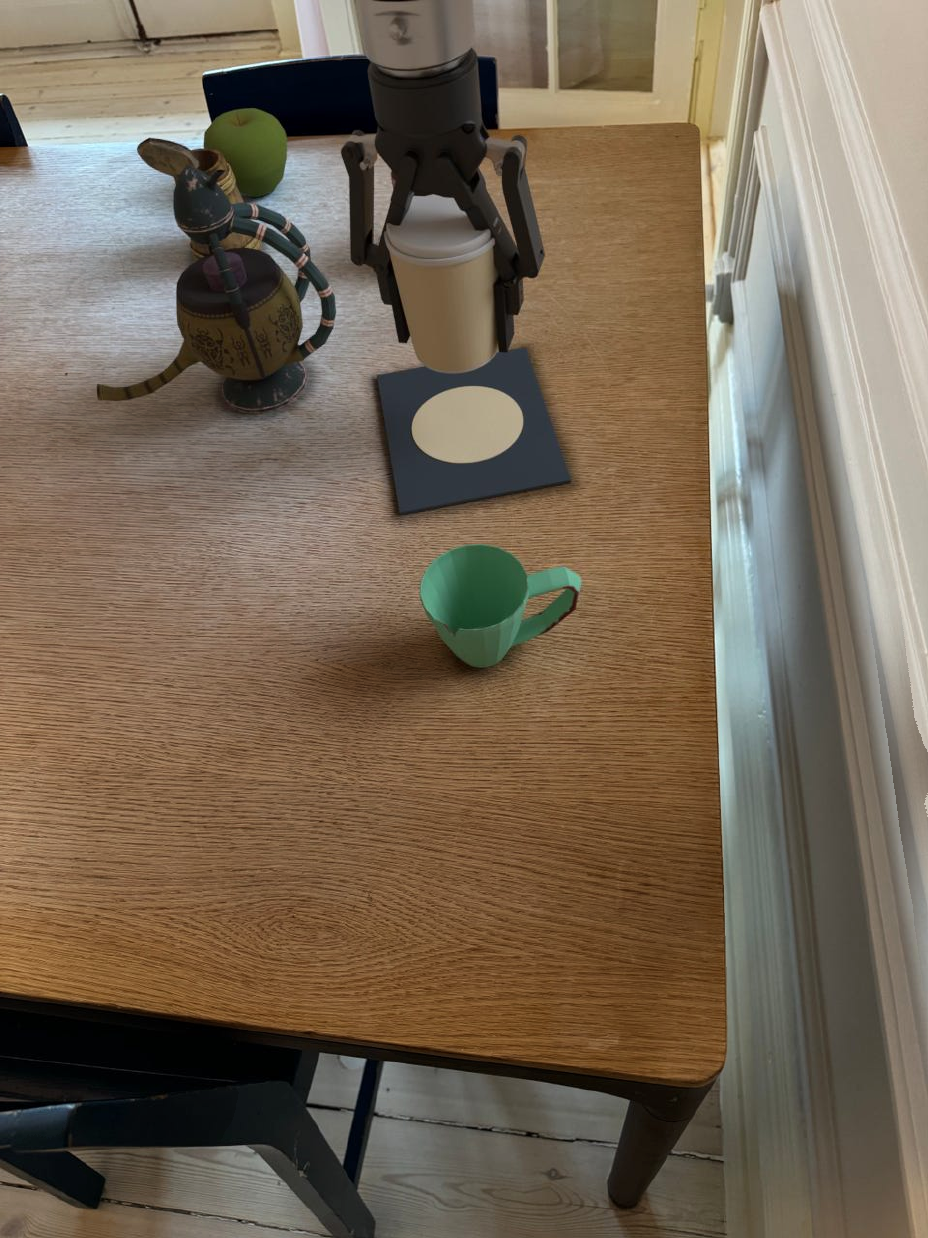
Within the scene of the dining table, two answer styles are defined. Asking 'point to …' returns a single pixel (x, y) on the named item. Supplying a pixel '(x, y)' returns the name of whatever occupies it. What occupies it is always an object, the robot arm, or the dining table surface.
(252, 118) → the apple
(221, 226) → the teapot
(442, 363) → the coffee cup
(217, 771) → the dining table surface
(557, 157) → the dining table surface
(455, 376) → the place mat
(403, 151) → the robot arm
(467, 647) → the mug
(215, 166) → the wooden mug
